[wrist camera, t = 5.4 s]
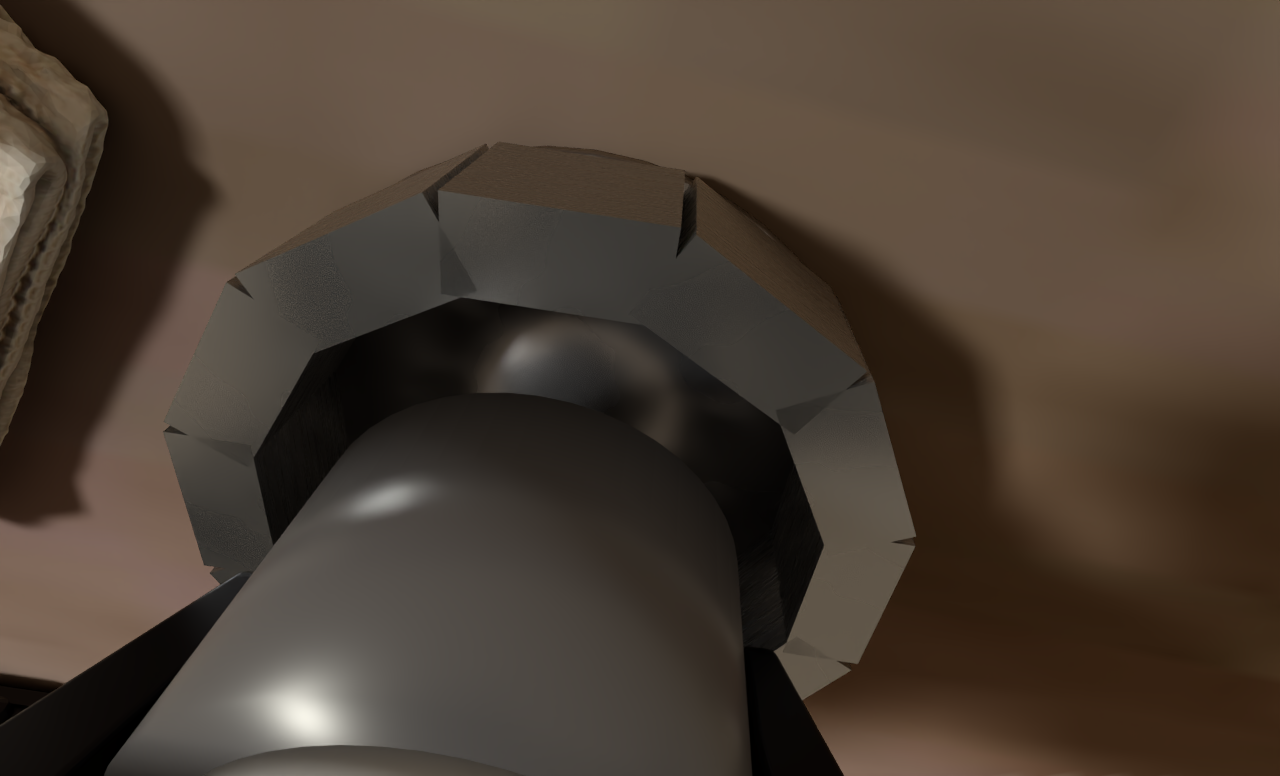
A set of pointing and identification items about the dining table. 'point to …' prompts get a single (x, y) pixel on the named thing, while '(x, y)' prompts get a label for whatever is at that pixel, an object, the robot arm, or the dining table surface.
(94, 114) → the washcloth
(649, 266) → the grey ring
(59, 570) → the dining table surface
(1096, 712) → the dining table surface
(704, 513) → the cap
